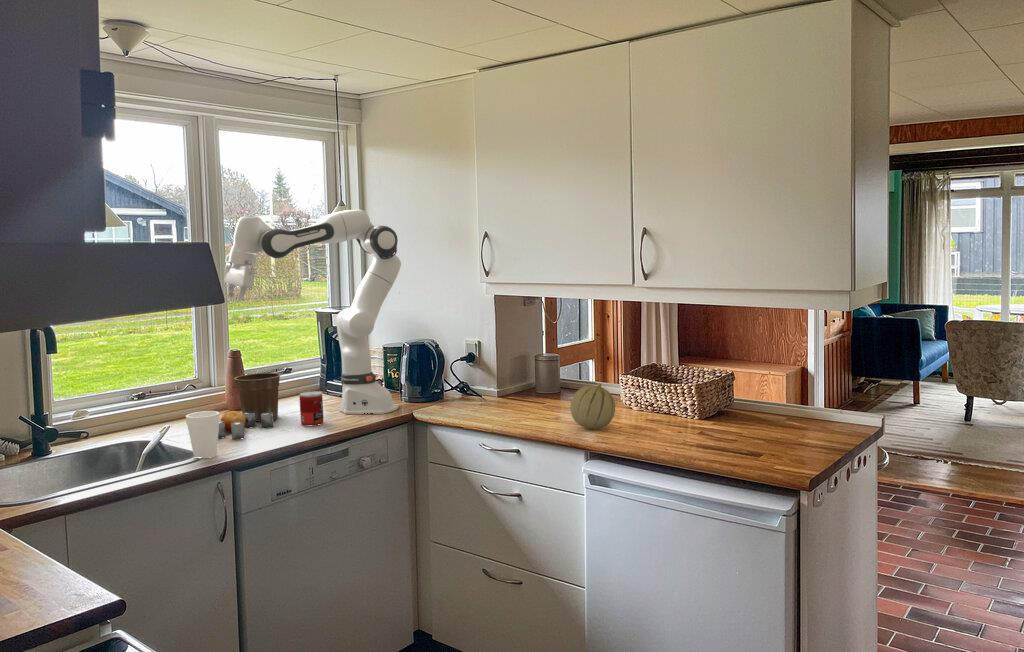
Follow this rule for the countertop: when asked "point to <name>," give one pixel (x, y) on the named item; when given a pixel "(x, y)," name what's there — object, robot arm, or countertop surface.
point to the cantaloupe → (592, 407)
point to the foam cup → (203, 432)
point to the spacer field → (238, 427)
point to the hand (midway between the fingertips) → (235, 298)
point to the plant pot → (259, 393)
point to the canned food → (311, 408)
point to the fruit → (232, 419)
